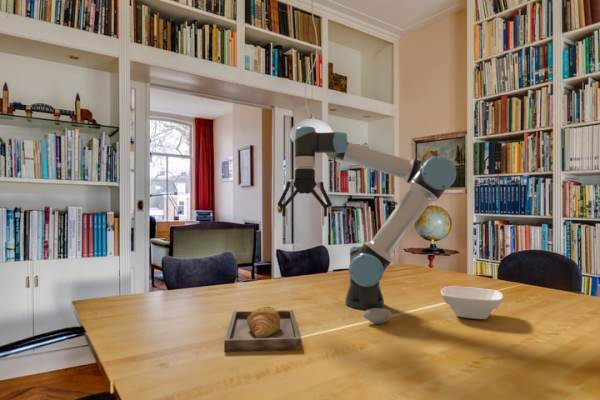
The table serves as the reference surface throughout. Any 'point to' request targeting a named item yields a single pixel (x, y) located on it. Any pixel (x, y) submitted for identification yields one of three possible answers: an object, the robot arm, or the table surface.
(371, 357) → the table surface
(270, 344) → the tray
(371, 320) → the stone
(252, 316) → the croissant
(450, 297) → the bowl
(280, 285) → the table surface
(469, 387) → the table surface
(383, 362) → the table surface
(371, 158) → the robot arm
